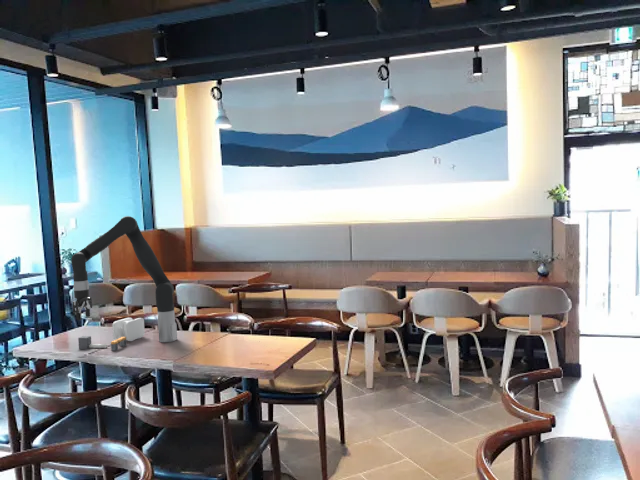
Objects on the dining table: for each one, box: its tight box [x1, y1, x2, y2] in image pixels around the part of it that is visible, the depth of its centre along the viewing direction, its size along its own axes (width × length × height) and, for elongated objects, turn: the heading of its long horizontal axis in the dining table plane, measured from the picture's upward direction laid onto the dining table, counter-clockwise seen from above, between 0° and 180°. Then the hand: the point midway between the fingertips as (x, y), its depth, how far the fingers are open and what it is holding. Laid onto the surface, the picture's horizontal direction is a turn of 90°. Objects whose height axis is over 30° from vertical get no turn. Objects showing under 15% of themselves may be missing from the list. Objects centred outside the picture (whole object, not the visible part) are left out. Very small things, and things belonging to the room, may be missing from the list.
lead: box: [77, 335, 108, 350], centre depth 287 cm, size 15×4×6 cm, turn 82°
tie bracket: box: [110, 337, 127, 352], centre depth 285 cm, size 2×11×5 cm, turn 172°
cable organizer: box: [111, 317, 146, 342], centre depth 304 cm, size 15×11×12 cm
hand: (83, 318), depth 287 cm, fingers open, 8 cm apart
